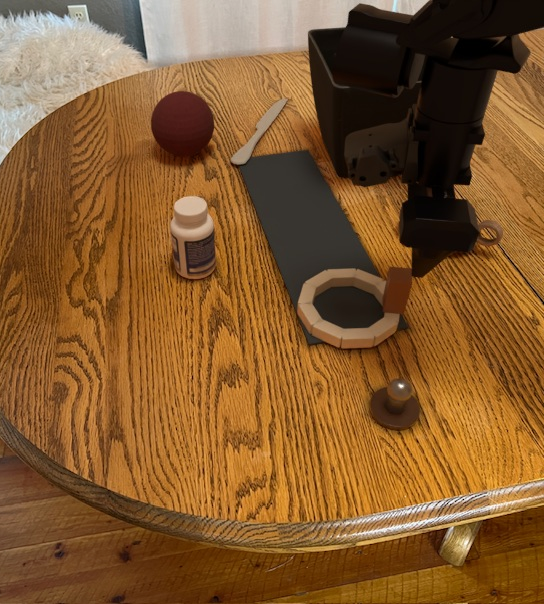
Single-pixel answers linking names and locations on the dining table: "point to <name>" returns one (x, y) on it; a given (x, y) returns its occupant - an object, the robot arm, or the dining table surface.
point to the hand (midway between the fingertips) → (414, 247)
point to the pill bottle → (193, 238)
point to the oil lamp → (491, 225)
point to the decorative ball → (182, 124)
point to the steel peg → (395, 405)
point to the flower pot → (348, 99)
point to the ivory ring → (386, 292)
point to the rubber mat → (310, 237)
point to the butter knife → (258, 133)
